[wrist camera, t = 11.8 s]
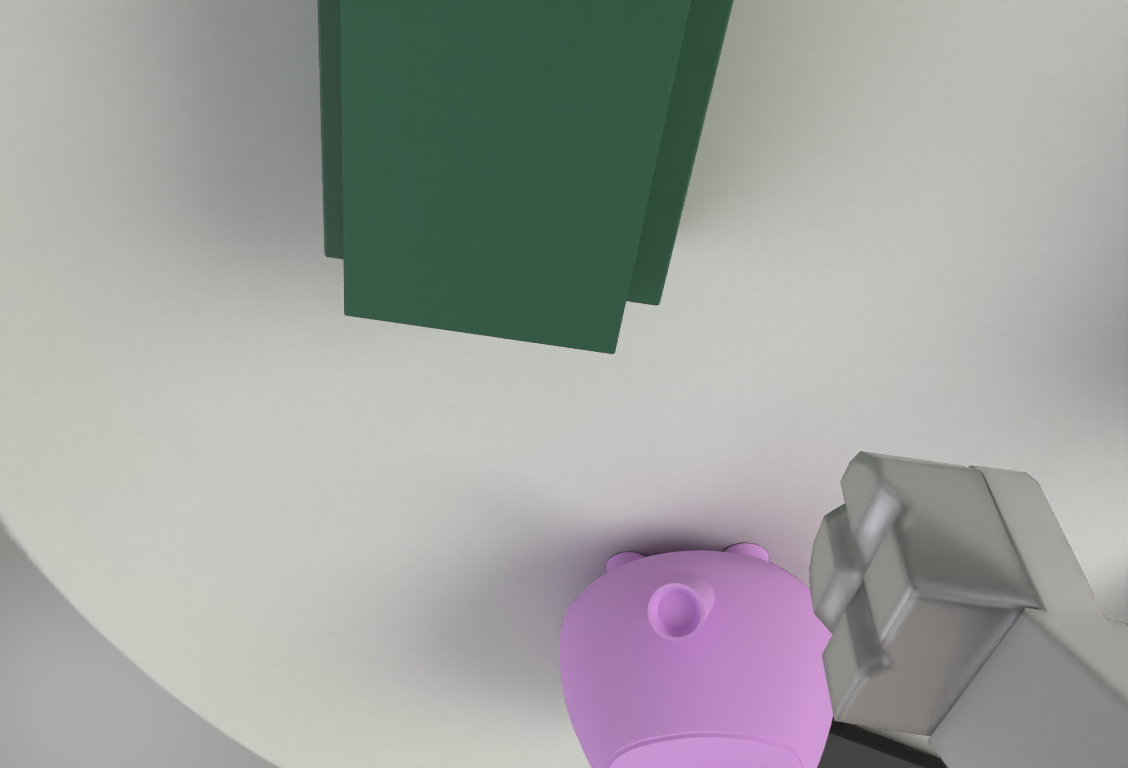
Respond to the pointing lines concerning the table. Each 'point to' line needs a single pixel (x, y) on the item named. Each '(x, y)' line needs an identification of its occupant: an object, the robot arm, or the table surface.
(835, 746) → the smartphone
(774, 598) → the teapot
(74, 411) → the table surface
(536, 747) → the table surface
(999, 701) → the robot arm
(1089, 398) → the table surface
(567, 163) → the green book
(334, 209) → the green stack
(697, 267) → the table surface
